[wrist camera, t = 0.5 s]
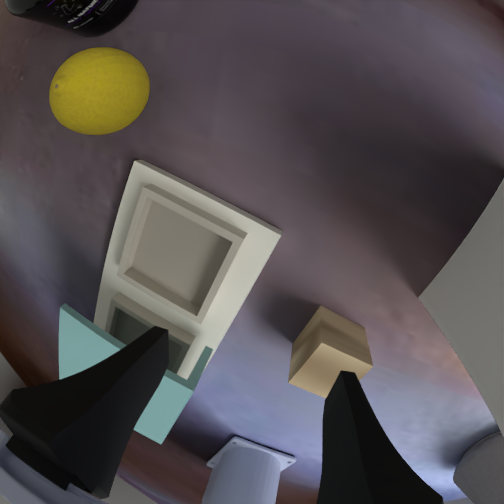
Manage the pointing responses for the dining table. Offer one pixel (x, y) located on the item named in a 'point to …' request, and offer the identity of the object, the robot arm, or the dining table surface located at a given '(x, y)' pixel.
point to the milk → (476, 304)
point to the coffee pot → (483, 471)
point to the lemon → (99, 91)
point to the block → (328, 352)
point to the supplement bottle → (74, 13)
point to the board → (179, 264)
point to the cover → (104, 345)
